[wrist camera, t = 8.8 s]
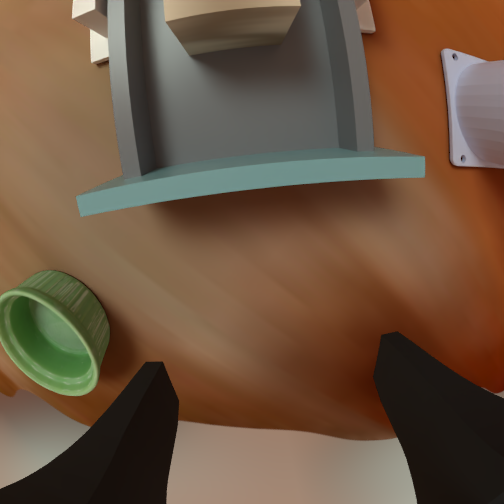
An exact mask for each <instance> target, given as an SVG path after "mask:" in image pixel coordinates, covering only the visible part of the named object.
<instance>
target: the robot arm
mask: <svg viewBox="0 0 504 504" xmlns="http://www.w3.org/2000/svg"><path fill="white" fill-rule="evenodd" d="M452 55H453V56H454V59H453V57H452ZM441 57H442V63H443V69H444V76H445V84H446V93H447V103H448V116H449V134H450V161H451V163H452V164H453V165H456V166H470V167H490V168H504V60H501V61H491V62H488V61H485V60H482V59H479V58H476V57H474V56H470V55H467V54H464V53H461V52H458V51H454V50H451V49H443V50H442V51H441ZM461 156H462V161H461ZM373 378H374V381H375V384H376V388H377V391H378V394H379V397H380V400H381V403H382V405H383V407H384V409H385V411H386V413H387V416H388V418H389V420H390V422H391V424H392V426H393V429H394V431H395V433H396V435H397V437H398V440H399V442H400V444H401V446H402V448H403V451H404V454H405V456H406V459H407V463H408V466H409V469H410V473H411V477H412V480H413V485H414V489H415V494H416V498H417V504H504V398H502V397H499V396H497V395H495V394H493V393H491V392H489V391H487V390H485V389H483V388H481V387H479V386H477V385H475V384H473V383H472V382H470V381H468V380H467V379H465V378H463V377H462V376H460V375H459V374H457V373H455V372H454V371H452V370H451V369H449V368H448V367H446V366H445V365H443V364H442V363H441V362H439V361H438V360H436V359H435V358H434V357H432V356H431V355H429V354H428V353H427V352H425V351H424V350H423V349H421V348H420V347H418V346H417V345H416V344H414V343H413V342H412V341H410V340H409V339H408V338H406V337H405V336H403V335H402V334H400V333H399V332H398V331H397V332H392V333H388V334H383V335H381V341H380V346H379V351H378V356H377V361H376V366H375V371H374V375H373ZM178 410H179V400H178V397H177V395H176V393H175V390H174V388H173V386H172V383H171V381H170V378H169V376H168V373H167V371H166V369H165V366H164V363H163V362H145V364H144V365H143V366H142V367H141V368H140V370H139V371H138V372H137V373H136V375H135V376H134V377H133V378H132V380H131V381H130V382H129V384H128V385H127V386H126V387H125V389H124V390H123V391H122V392H121V394H120V395H119V396H118V397H117V398H116V400H115V401H114V402H113V403H112V404H111V406H110V407H109V408H108V409H107V410H106V411H105V413H104V414H103V415H102V416H101V417H100V418H99V419H98V420H97V421H96V422H95V424H94V425H93V426H92V427H91V428H90V429H89V430H88V431H87V432H86V433H85V434H84V435H83V436H82V437H81V438H79V439H78V440H77V441H76V442H75V443H74V444H73V445H72V446H71V447H69V448H68V449H67V450H66V451H64V452H63V453H62V454H60V455H59V456H58V457H56V458H55V459H54V460H52V461H51V462H50V463H48V464H47V465H45V466H44V467H42V468H41V469H39V470H37V471H36V472H34V473H33V474H31V475H29V476H27V477H25V478H23V479H21V480H19V481H17V482H15V483H13V484H10V485H8V486H6V487H4V488H1V489H0V504H166V496H167V483H168V476H169V470H170V465H171V459H172V454H173V448H174V443H175V438H176V432H177V426H178Z"/></svg>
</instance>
